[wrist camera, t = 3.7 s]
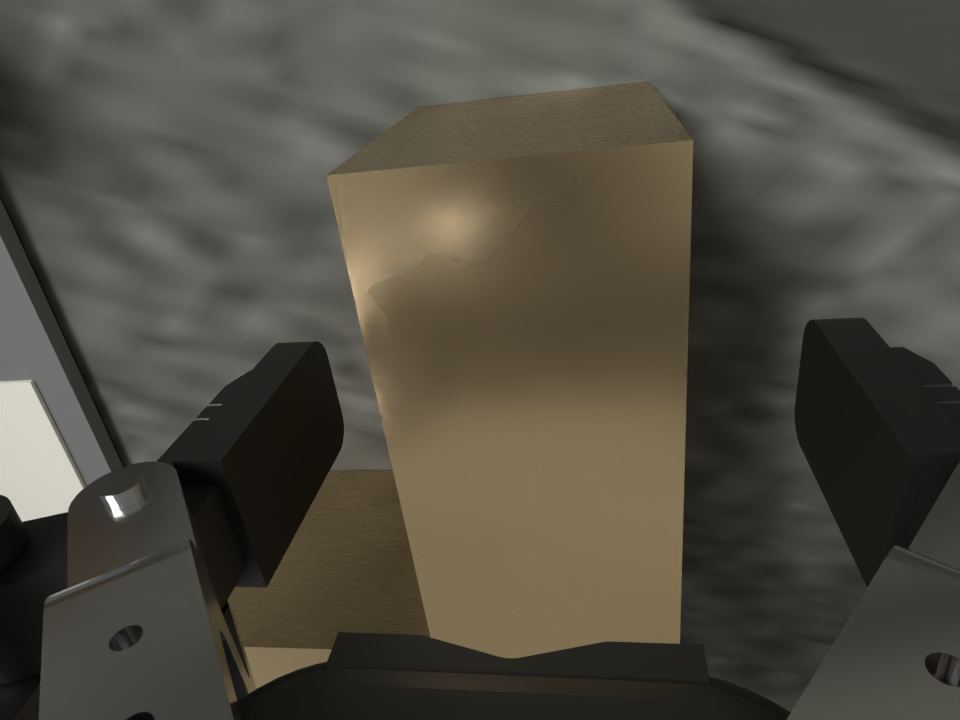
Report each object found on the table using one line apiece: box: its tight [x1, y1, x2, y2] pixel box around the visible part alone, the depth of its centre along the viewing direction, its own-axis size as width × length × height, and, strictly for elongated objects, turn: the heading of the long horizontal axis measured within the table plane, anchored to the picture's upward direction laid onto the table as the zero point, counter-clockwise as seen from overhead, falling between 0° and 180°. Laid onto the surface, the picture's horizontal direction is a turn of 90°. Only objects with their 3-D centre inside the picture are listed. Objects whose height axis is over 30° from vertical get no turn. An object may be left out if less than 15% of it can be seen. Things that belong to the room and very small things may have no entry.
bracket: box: [228, 82, 693, 689], centre depth 13 cm, size 12×10×5 cm
